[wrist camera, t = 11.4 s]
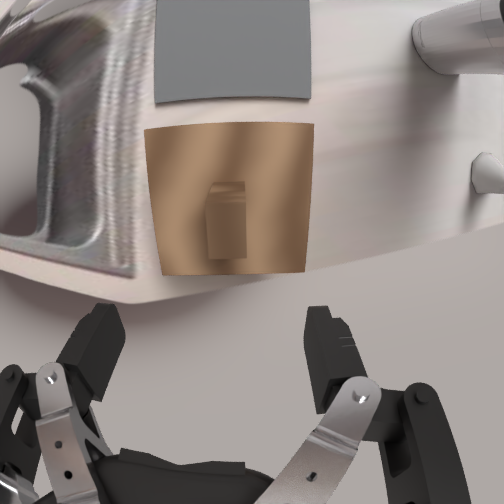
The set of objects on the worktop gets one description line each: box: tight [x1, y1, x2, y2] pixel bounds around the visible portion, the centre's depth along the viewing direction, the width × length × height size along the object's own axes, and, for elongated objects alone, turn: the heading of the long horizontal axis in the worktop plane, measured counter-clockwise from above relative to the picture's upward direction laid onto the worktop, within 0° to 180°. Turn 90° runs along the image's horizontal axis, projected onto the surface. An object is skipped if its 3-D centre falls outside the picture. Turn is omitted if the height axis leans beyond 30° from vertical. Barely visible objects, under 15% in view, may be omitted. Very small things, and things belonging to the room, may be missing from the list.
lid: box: [144, 122, 314, 275], centre depth 21 cm, size 14×14×7 cm
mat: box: [155, 0, 311, 103], centre depth 24 cm, size 18×18×1 cm
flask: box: [471, 153, 504, 194], centre depth 27 cm, size 7×7×10 cm
